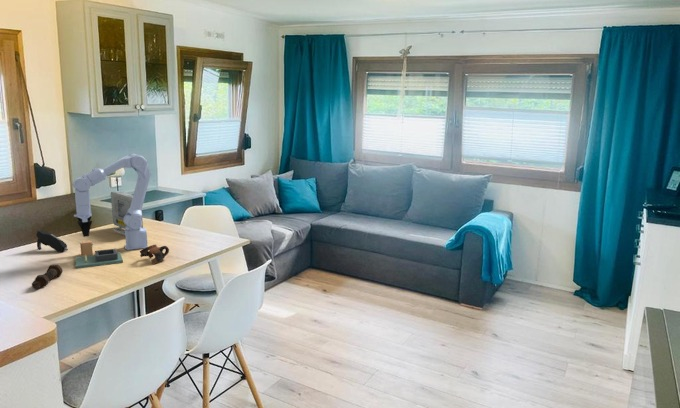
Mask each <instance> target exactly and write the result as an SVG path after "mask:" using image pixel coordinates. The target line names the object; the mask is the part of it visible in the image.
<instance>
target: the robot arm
mask: <svg viewBox="0 0 680 408" xmlns="http://www.w3.org/2000/svg"><path fill="white" fill-rule="evenodd" d="M148 163H149V162H148V160H147V159H146V158H145V157H144V156H143V155H140V154H137V153H129V154H128V155H125V156H123V157H121V158H119V159H118V160H116V161H114V162H112V163H110V164H109V165H107V166H104V168H99V167H98V168H95V167H94V168H93V169H91V170H90V172H88V173H85V174H82V175H81V176H80V177H76V178H75V179H74V180H73V181H72V182H73V183H72V187H73V188H74V193H75V194H74V197H75V199H74V200H75V211H76V214H73V217H74V218H77V224H78V226H79V227H80V230H81V233H82V237H84V238H85V237H89V236H90V229H91V226H92V223H93V220H91V218H92V215H93V214H92V207H91V206H92V205H91V197H90V188H91V187H93V186H95V185H97V184H99V183H101V182H103V181H105V179H106V177H107V176H108V175H110V174H112V173H114V172H116V171H117V172H118V171H119V170H121V169H123V168H126V169H127V168H129V169H133V170H134V171H135V173H136V174H137V180H136V183H135V187H134V190H133V193H132V195H133V198H132V202H131V206H130V208H129V209H128V211H127V214H126V215H125V216H124V218H123V222H124V224H125V225H126V227H125V229H124V230H125V235H124V236H125V237H124V238H125V244H124V248H125V250H127V251H129V250H139V249H144V248H146V247H149V246H148V233H147V228H146V227H143V228H141V226H142V221H143V206H144V202H145V197H146V193H147V191H148V188H149V187H148V186H149V182H150V179H151V176H152V173H151V170H150V168H149V164H148ZM141 210H142V211H141Z"/></svg>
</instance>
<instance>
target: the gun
mask: <svg viewBox="0 0 680 408" xmlns="http://www.w3.org/2000/svg"><path fill="white" fill-rule="evenodd" d="M36 237H37V241H36V247H37V250H42V245H43V246H48V247H50V248H52V249H53V250H54V251H56V252H57V253H63V252H67V251H68V250H69V248H68V245H67V243H66V242H65V241H64V240H62V239H61V238H59V237H57V236H55V235H54V234H52V233H50V232H48V231H45V230H44V229H43V230H42V229H41V230H37V232H36Z"/></svg>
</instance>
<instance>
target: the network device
mask: <svg viewBox="0 0 680 408" xmlns="http://www.w3.org/2000/svg"><path fill="white" fill-rule="evenodd" d="M132 198H133V194H130V193H127V192H124V191H121V190H116V191H111V192H110V202H111V203H110V204H111V214H112V224H113V225H114V226H116V227H114V228H112V230H113V231H114V232H115V231H116V233H118V234H120V235H124V236H125V227H126V225H125V224H124V222H123V218H124V216H125V215H126V214H127V211H128V209H129V208H130V206H131V202H132ZM141 211H142V212H143V209H142V210H141ZM141 228H144V223H143V220H142V226H141ZM120 229H123V230H120Z"/></svg>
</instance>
